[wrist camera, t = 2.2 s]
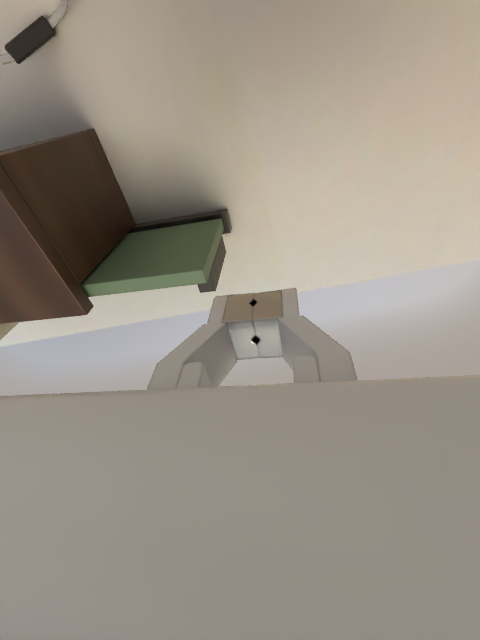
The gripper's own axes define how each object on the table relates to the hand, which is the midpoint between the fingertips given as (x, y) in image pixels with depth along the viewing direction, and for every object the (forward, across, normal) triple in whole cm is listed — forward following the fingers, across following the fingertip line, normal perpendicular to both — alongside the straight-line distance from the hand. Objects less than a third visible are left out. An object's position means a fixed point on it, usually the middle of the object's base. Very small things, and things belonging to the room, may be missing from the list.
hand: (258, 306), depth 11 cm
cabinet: (+21, +16, 0) cm, 27 cm away
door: (+20, +11, +5) cm, 23 cm away
